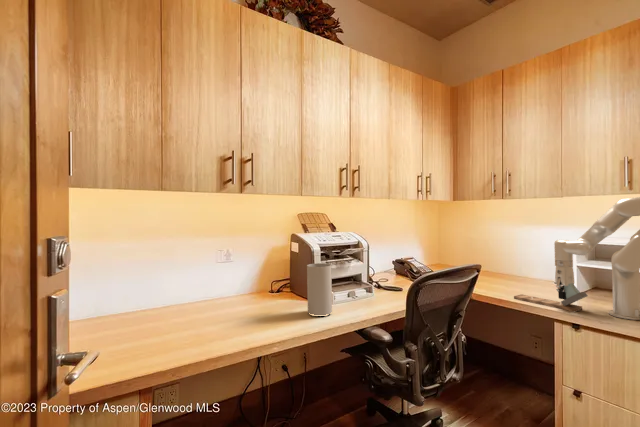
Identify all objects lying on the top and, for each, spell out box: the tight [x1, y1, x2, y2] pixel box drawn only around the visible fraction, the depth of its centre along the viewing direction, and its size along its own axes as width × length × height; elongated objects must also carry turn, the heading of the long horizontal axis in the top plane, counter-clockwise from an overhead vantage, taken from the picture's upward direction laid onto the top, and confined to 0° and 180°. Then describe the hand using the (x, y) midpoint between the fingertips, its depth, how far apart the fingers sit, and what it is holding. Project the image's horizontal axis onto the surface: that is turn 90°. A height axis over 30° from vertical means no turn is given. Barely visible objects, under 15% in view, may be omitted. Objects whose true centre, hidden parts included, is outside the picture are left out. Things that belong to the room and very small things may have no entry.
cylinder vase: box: [306, 262, 333, 315], centre depth 164 cm, size 12×12×25 cm
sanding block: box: [556, 283, 588, 306], centre depth 166 cm, size 10×6×8 cm
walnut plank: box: [513, 294, 583, 312], centre depth 176 cm, size 30×8×2 cm, turn 29°
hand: (564, 298), depth 168 cm, fingers closed on sanding block, 4 cm apart
